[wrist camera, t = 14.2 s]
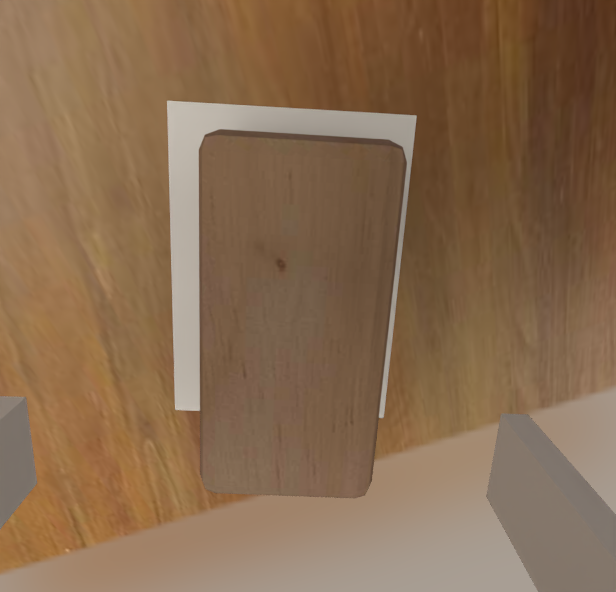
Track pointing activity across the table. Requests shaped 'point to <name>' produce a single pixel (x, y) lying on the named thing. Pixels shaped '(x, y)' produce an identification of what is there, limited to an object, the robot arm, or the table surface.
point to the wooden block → (294, 308)
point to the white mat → (185, 205)
